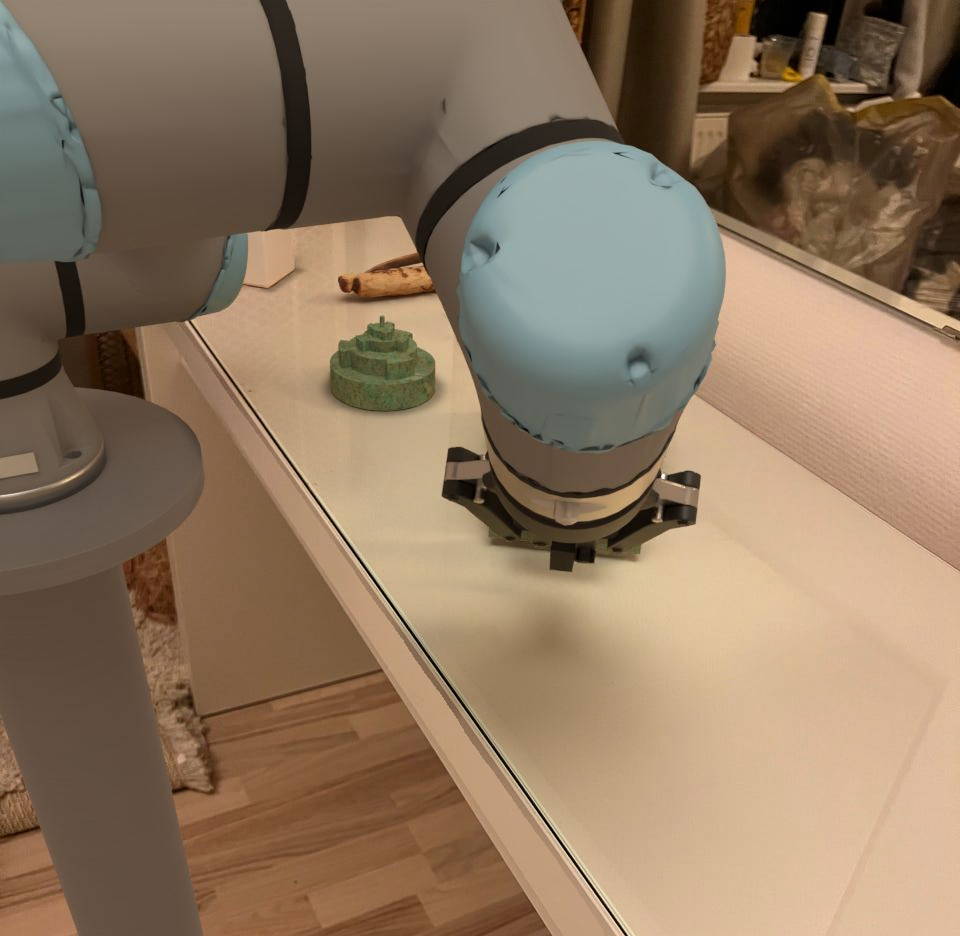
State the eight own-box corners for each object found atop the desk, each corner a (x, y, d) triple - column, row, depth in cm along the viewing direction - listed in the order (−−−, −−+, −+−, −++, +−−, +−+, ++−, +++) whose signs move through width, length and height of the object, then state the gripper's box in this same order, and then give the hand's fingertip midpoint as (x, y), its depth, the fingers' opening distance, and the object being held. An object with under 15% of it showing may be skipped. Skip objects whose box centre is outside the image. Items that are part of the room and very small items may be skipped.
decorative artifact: (353, 418, 90) (452, 400, 94) (351, 344, 86) (454, 328, 90) (316, 375, 97) (409, 360, 101) (311, 304, 93) (409, 291, 96)
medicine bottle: (295, 270, 120) (288, 163, 112) (268, 289, 114) (259, 178, 107) (242, 261, 121) (231, 155, 114) (213, 280, 116) (199, 169, 108)
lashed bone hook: (453, 270, 124) (318, 285, 116) (455, 230, 121) (316, 243, 113) (490, 292, 117) (349, 309, 110) (492, 251, 114) (348, 266, 107)
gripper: (410, 508, 42) (457, 595, 65) (722, 543, 41) (656, 619, 64) (434, 338, 42) (472, 484, 66) (741, 369, 41) (669, 506, 65)
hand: (563, 550), depth 65 cm, fingers closed
